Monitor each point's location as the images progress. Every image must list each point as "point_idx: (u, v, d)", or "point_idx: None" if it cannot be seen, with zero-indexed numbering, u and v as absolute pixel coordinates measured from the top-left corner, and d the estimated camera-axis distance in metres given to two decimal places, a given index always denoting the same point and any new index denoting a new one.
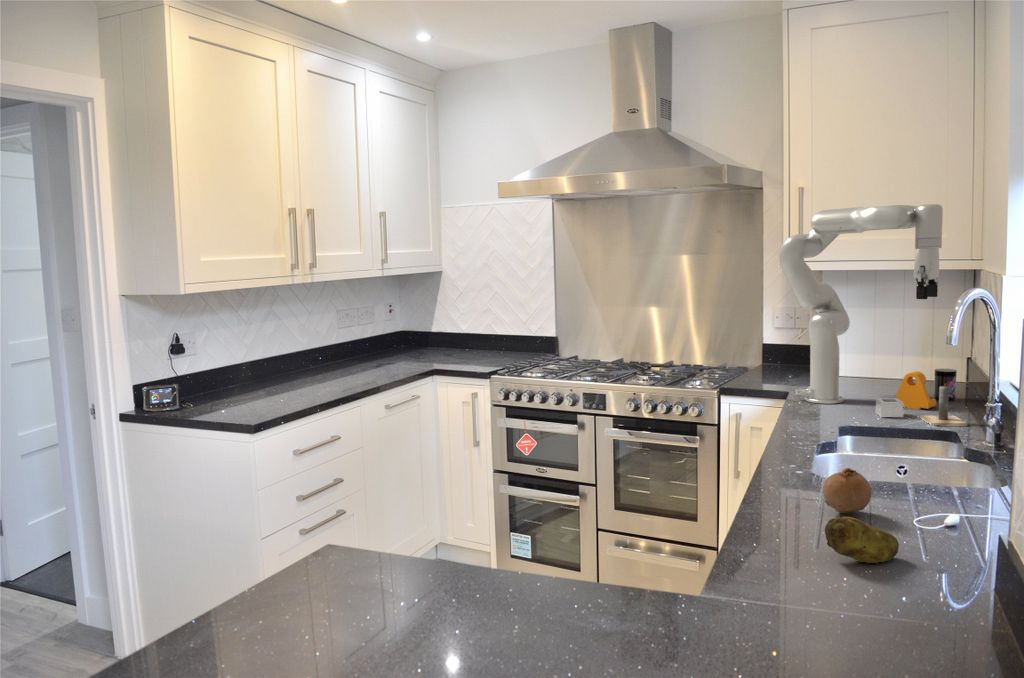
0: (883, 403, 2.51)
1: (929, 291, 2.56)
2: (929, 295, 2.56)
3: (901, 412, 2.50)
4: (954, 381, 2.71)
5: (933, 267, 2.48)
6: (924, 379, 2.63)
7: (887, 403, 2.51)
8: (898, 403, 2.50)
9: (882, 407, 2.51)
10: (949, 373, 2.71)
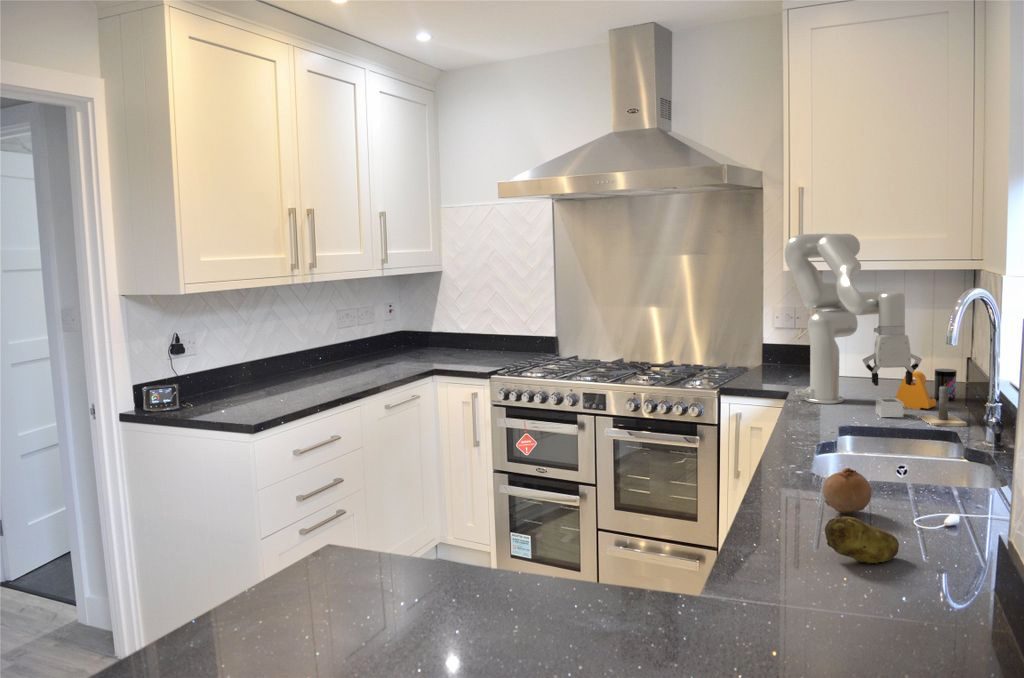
0: (883, 403, 2.51)
1: None
2: None
3: (901, 412, 2.50)
4: (954, 381, 2.71)
5: None
6: (924, 379, 2.63)
7: (887, 403, 2.51)
8: (898, 403, 2.50)
9: (882, 407, 2.51)
10: (949, 373, 2.71)
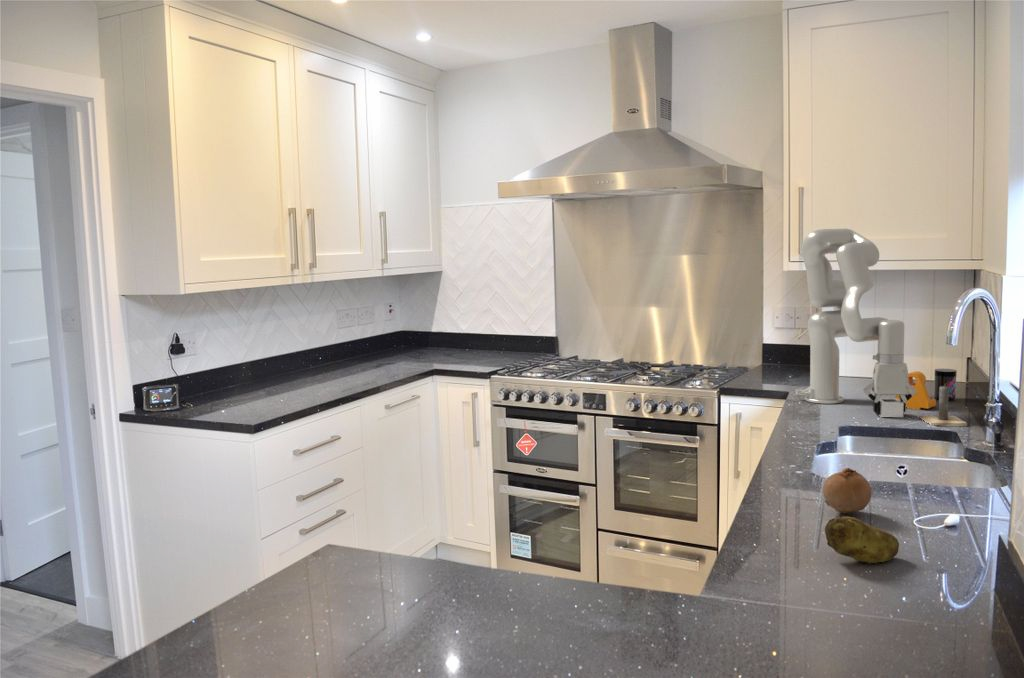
0: (883, 403, 2.51)
1: None
2: None
3: (901, 412, 2.50)
4: (954, 381, 2.71)
5: None
6: (924, 379, 2.63)
7: (887, 403, 2.51)
8: (898, 403, 2.50)
9: (882, 407, 2.51)
10: (949, 373, 2.71)
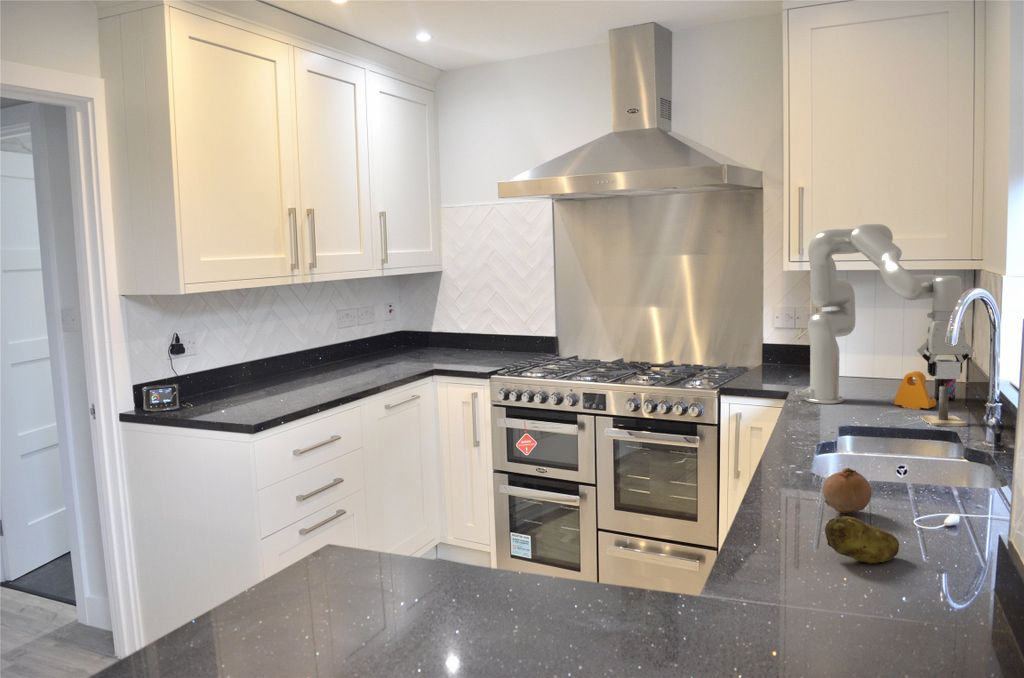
0: (939, 363, 2.38)
1: None
2: None
3: (958, 372, 2.37)
4: (954, 381, 2.71)
5: None
6: (924, 379, 2.63)
7: (943, 363, 2.38)
8: (955, 363, 2.37)
9: (938, 367, 2.38)
10: None
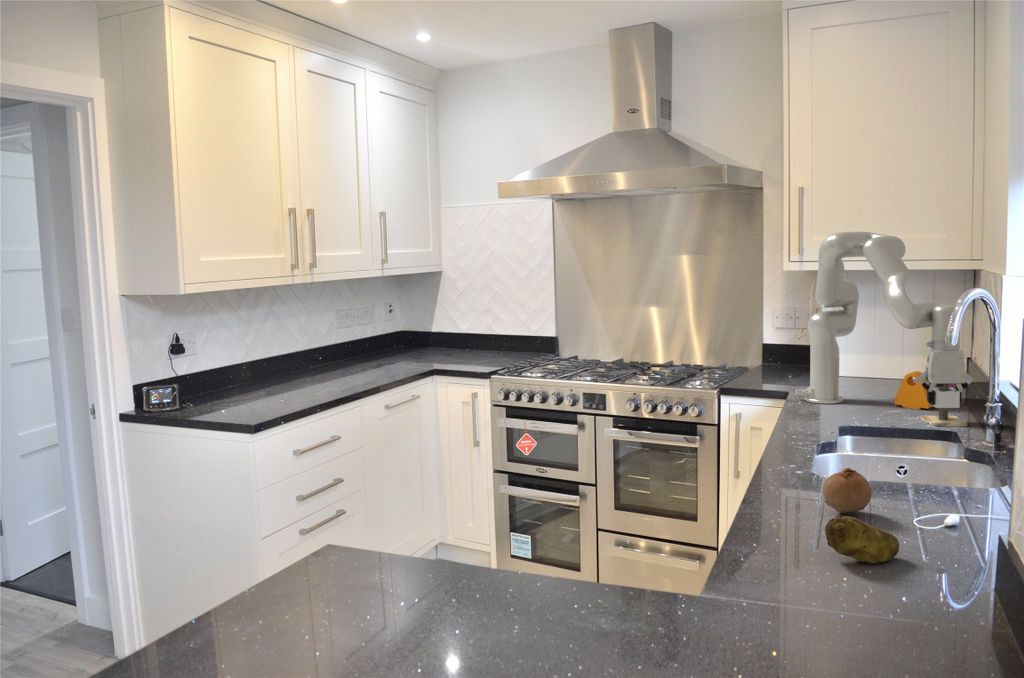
0: (938, 392, 2.39)
1: None
2: None
3: (957, 401, 2.38)
4: None
5: None
6: (924, 379, 2.63)
7: (942, 392, 2.39)
8: (954, 392, 2.38)
9: (937, 396, 2.39)
10: None
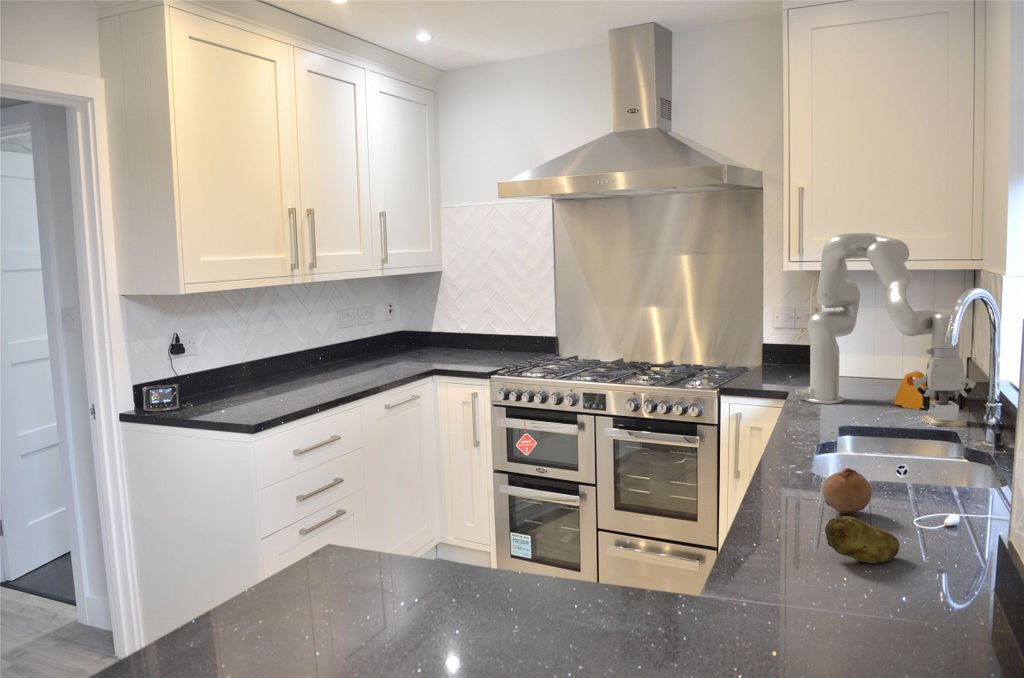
0: (937, 406, 2.40)
1: None
2: None
3: (956, 415, 2.39)
4: None
5: None
6: None
7: (941, 406, 2.40)
8: (953, 406, 2.39)
9: (936, 410, 2.40)
10: None
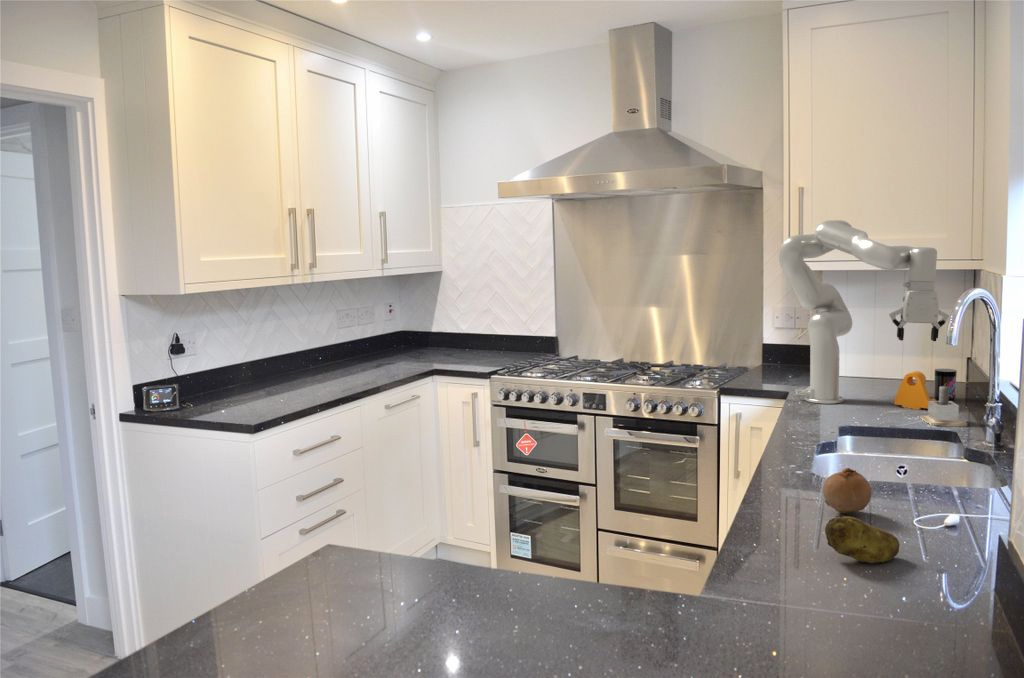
0: (937, 406, 2.40)
1: None
2: None
3: (956, 415, 2.39)
4: (954, 381, 2.71)
5: None
6: (924, 379, 2.63)
7: (941, 406, 2.40)
8: (953, 406, 2.39)
9: (936, 410, 2.40)
10: (949, 373, 2.71)
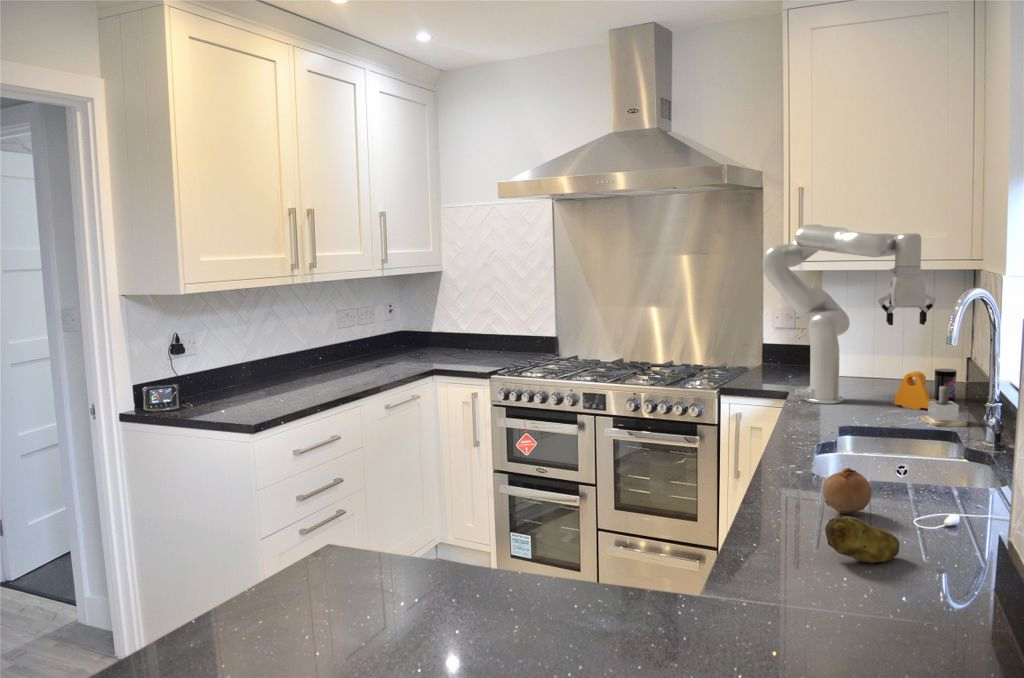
0: (937, 406, 2.40)
1: None
2: None
3: (956, 415, 2.39)
4: (954, 381, 2.71)
5: None
6: (924, 379, 2.63)
7: (941, 406, 2.40)
8: (953, 406, 2.39)
9: (936, 410, 2.40)
10: (949, 373, 2.71)
